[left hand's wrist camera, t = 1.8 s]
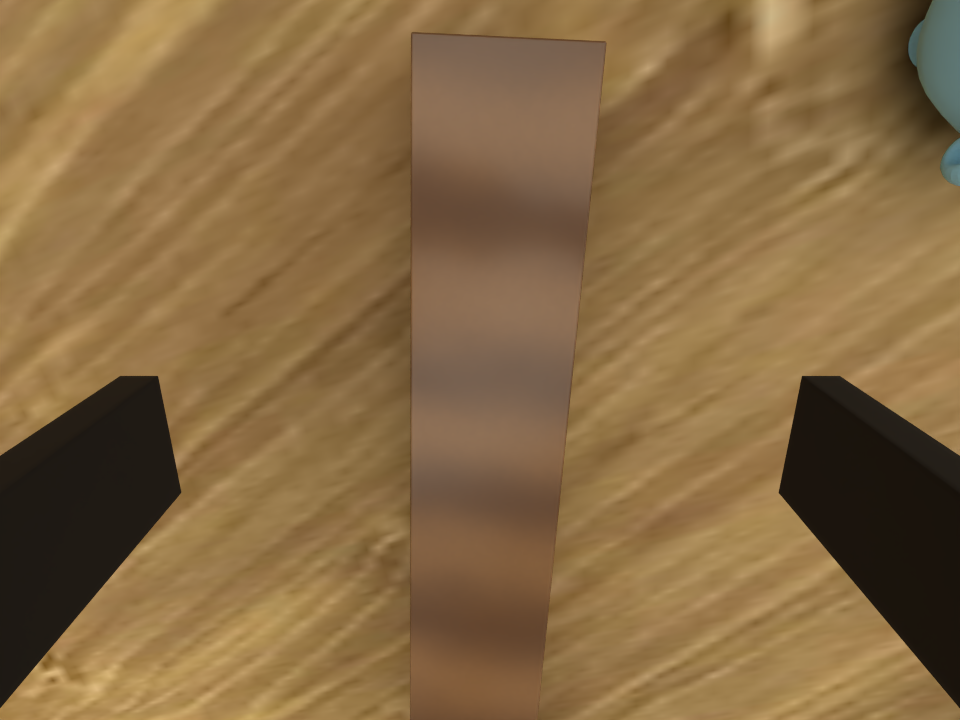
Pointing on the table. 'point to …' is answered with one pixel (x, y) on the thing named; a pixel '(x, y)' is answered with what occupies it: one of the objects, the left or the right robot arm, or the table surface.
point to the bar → (492, 354)
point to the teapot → (941, 71)
